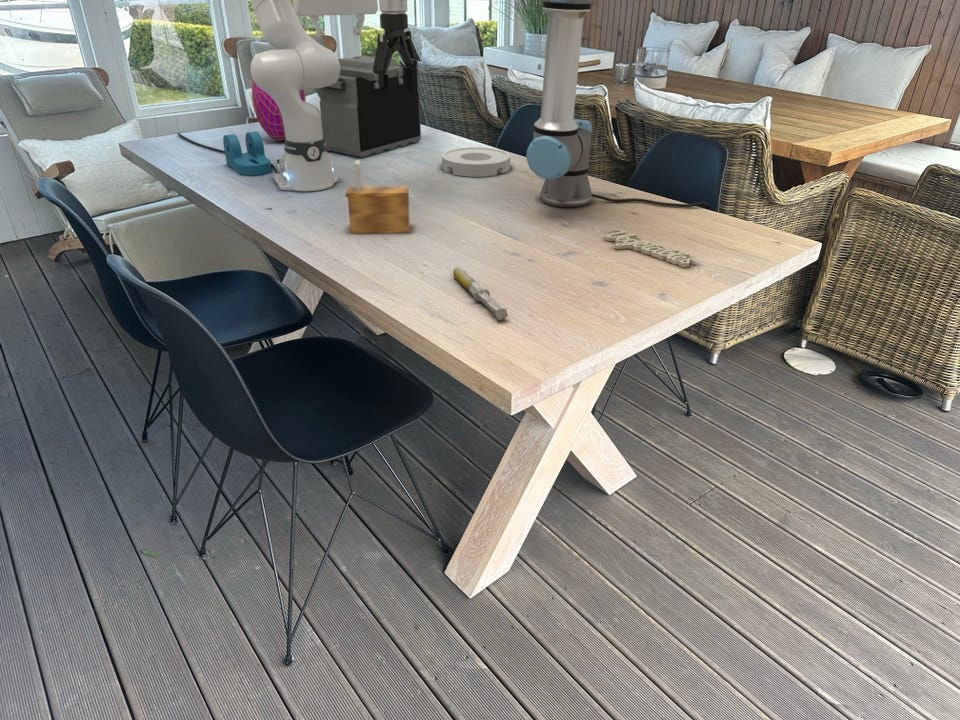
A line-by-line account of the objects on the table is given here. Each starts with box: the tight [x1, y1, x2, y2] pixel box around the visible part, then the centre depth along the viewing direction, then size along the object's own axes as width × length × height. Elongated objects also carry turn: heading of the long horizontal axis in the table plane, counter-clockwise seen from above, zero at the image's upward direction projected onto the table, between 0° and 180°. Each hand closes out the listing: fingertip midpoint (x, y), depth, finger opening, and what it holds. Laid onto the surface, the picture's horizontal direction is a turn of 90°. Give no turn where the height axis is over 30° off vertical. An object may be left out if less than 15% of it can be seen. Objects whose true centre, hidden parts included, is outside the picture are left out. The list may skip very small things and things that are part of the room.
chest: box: [347, 191, 411, 234], centre depth 178 cm, size 15×5×10 cm, turn 93°
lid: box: [344, 159, 409, 198], centre depth 173 cm, size 16×5×8 cm, turn 93°
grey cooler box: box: [314, 55, 422, 159], centre depth 250 cm, size 37×22×30 cm, turn 144°
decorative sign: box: [605, 228, 696, 268], centre depth 169 cm, size 26×1×10 cm
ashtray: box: [441, 146, 511, 178], centre depth 232 cm, size 23×23×4 cm
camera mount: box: [222, 131, 272, 176], centre depth 226 cm, size 18×10×10 cm, turn 35°
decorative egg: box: [251, 77, 307, 142], centre depth 257 cm, size 19×19×30 cm
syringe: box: [452, 266, 509, 321], centre depth 145 cm, size 25×4×3 cm, turn 21°
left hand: (339, 35), depth 168 cm, fingers open, 8 cm apart
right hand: (397, 95), depth 196 cm, fingers open, 13 cm apart
